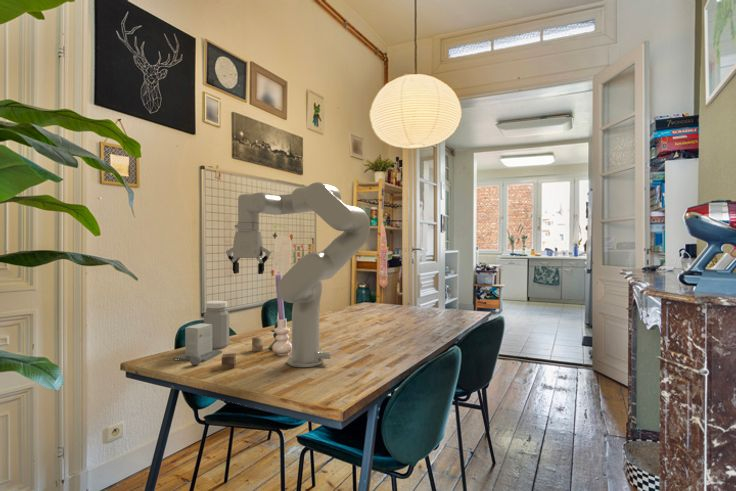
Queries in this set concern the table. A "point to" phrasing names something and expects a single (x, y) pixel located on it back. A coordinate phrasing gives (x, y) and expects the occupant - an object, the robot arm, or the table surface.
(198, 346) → the small box
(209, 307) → the jar
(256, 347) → the cork cylinder
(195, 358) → the grey rubber ball
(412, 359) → the table surface
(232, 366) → the walnut block
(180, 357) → the slate trivet
